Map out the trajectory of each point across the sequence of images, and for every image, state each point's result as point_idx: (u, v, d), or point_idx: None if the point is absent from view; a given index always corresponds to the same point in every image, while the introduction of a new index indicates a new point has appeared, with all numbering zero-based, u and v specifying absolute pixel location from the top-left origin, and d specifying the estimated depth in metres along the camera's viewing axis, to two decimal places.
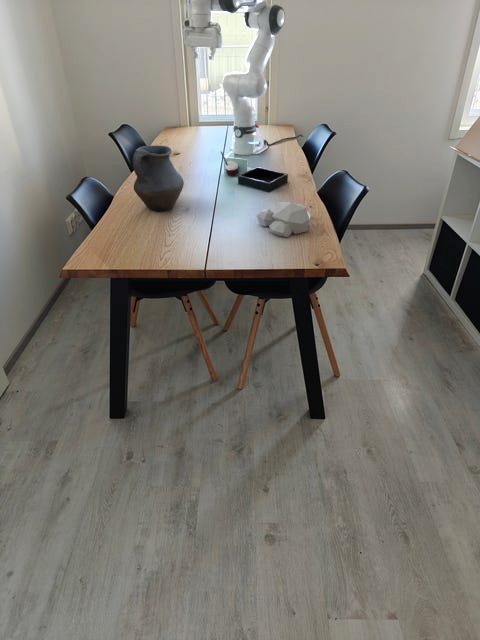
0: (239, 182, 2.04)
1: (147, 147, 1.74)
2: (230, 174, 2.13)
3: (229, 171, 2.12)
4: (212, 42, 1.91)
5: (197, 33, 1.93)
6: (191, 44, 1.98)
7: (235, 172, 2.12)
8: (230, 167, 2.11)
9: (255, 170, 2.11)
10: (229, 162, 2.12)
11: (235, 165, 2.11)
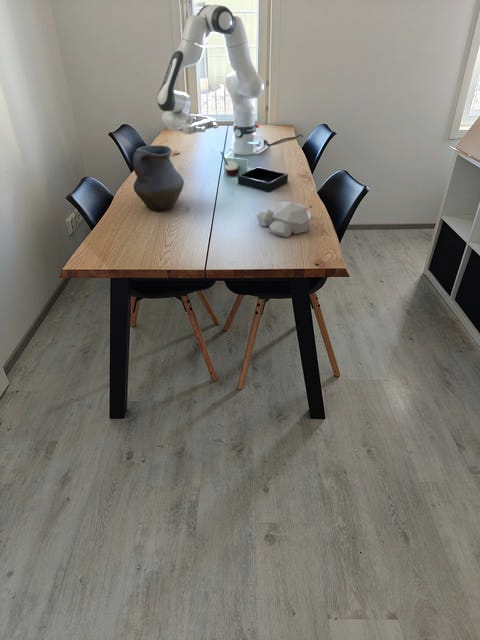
0: (239, 182, 2.04)
1: (147, 147, 1.74)
2: (230, 174, 2.13)
3: (229, 171, 2.12)
4: None
5: None
6: (209, 128, 2.16)
7: (235, 172, 2.12)
8: (230, 167, 2.11)
9: (255, 170, 2.11)
10: (229, 162, 2.12)
11: (235, 165, 2.11)
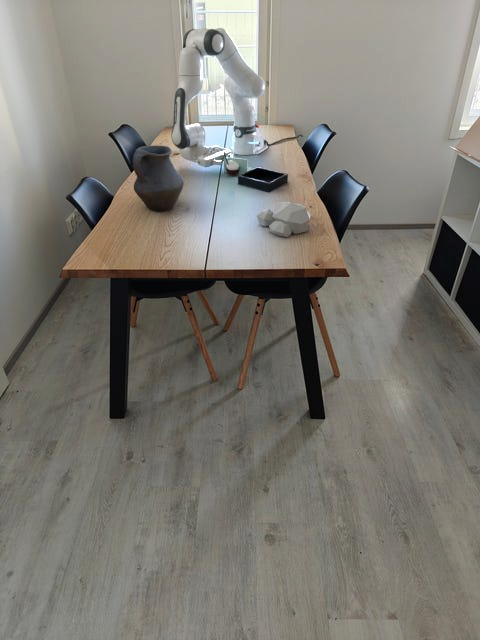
0: (239, 182, 2.04)
1: (147, 147, 1.74)
2: (230, 174, 2.12)
3: (230, 171, 2.11)
4: None
5: None
6: None
7: (235, 172, 2.12)
8: (231, 167, 2.10)
9: (255, 170, 2.11)
10: (230, 161, 2.11)
11: (236, 165, 2.11)
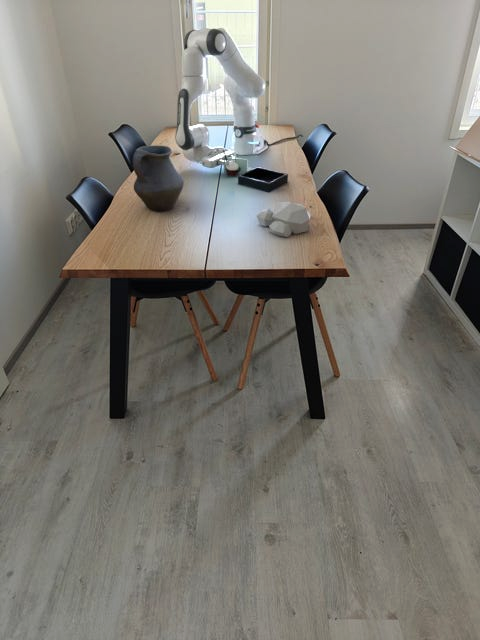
0: (239, 182, 2.04)
1: (147, 147, 1.74)
2: (230, 174, 2.12)
3: (229, 171, 2.10)
4: None
5: None
6: None
7: (235, 172, 2.12)
8: (231, 167, 2.10)
9: (255, 170, 2.11)
10: (230, 162, 2.11)
11: (236, 165, 2.10)
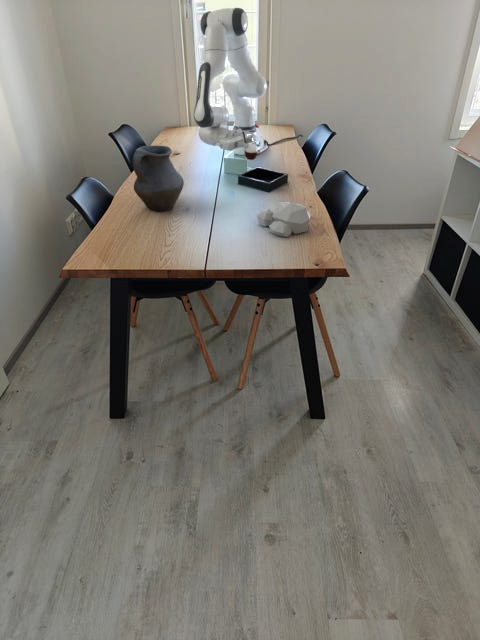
0: (239, 182, 2.04)
1: (147, 147, 1.74)
2: (249, 157, 2.00)
3: (248, 154, 1.99)
4: None
5: None
6: None
7: (254, 155, 2.00)
8: (250, 149, 1.98)
9: (255, 170, 2.11)
10: (249, 144, 1.99)
11: (255, 148, 1.98)
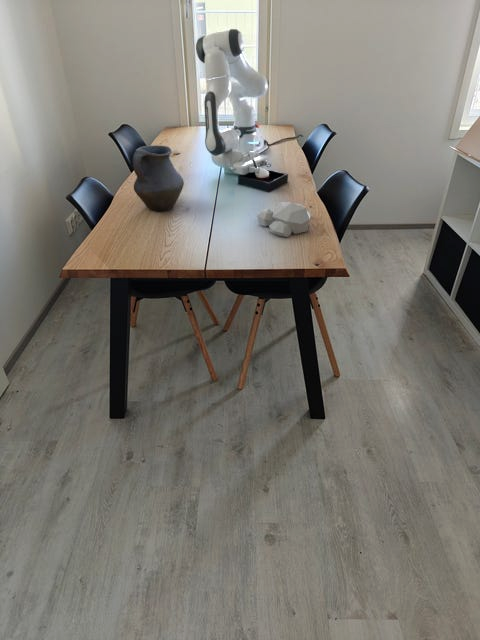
0: (239, 182, 2.04)
1: (147, 147, 1.74)
2: None
3: (261, 179, 2.01)
4: None
5: None
6: None
7: (267, 179, 2.02)
8: (262, 175, 2.00)
9: None
10: None
11: (266, 172, 2.01)
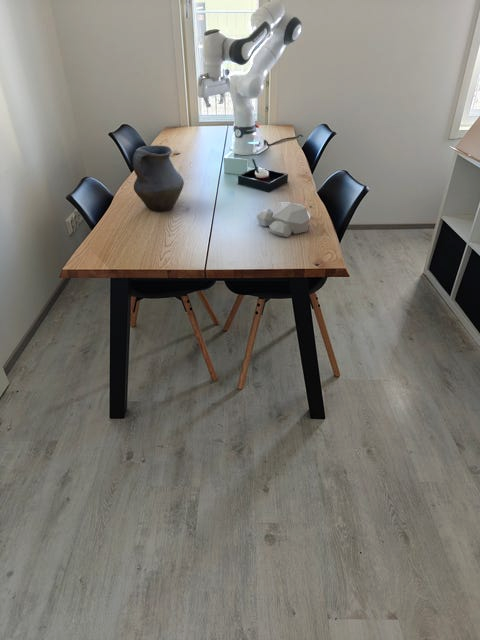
0: (239, 182, 2.04)
1: (147, 147, 1.74)
2: None
3: (261, 179, 2.01)
4: None
5: None
6: None
7: (267, 179, 2.02)
8: (262, 174, 2.00)
9: (255, 170, 2.11)
10: (259, 169, 2.01)
11: (266, 172, 2.01)
